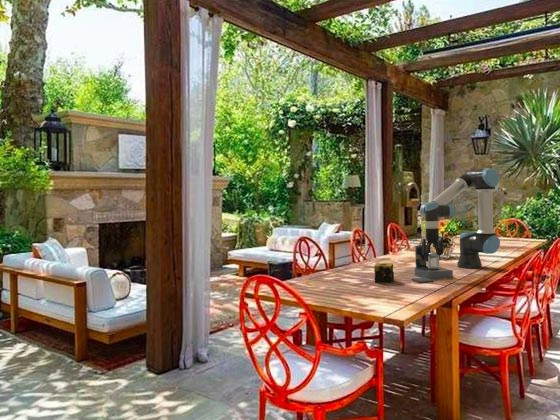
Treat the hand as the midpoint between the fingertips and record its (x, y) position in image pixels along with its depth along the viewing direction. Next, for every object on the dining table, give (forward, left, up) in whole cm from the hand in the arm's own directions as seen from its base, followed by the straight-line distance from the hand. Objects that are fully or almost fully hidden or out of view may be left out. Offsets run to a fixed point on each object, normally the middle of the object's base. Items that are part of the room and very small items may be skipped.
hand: (432, 266), depth 289 cm
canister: (-2, -15, -7) cm, 17 cm away
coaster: (+13, +10, -6) cm, 17 cm away
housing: (0, 0, -6) cm, 6 cm away
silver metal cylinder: (0, 0, -5) cm, 5 cm away
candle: (+33, +2, -7) cm, 34 cm away
